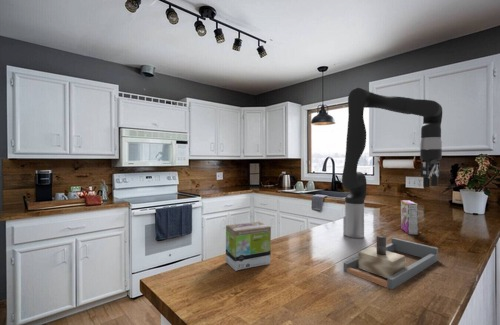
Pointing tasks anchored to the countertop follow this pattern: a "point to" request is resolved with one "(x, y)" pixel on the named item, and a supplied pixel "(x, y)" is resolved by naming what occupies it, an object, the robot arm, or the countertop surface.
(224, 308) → the countertop surface
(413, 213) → the candy bar box
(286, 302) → the countertop surface
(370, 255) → the beige block
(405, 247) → the frame
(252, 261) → the tea box
